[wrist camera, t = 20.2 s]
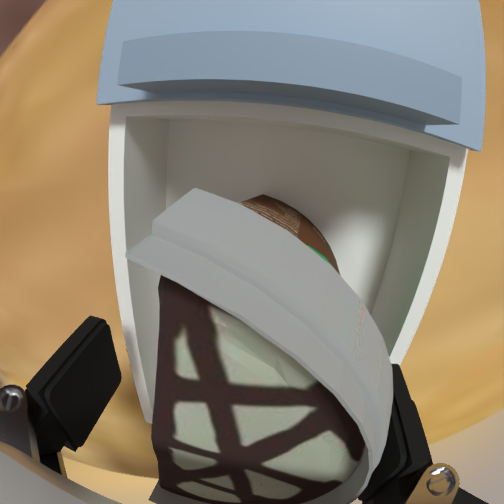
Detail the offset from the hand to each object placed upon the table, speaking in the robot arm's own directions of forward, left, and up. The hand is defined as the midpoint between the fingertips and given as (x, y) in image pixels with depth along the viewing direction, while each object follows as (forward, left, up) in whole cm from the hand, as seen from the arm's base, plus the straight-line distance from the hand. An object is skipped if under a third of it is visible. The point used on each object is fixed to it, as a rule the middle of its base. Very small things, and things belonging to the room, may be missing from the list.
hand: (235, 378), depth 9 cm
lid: (+1, +17, -2) cm, 17 cm away
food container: (+2, 0, -6) cm, 6 cm away
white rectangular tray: (+1, 0, -7) cm, 7 cm away
